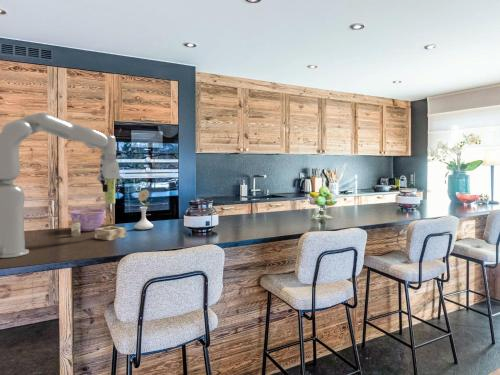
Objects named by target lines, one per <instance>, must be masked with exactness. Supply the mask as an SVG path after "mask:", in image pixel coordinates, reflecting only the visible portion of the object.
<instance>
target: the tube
mask: <svg viewBox="0 0 500 375" xmlns="http://www.w3.org/2000/svg"><path fill="white" fill-rule="evenodd" d="M104 179H105V178H104ZM104 181H105V180H104ZM106 185H107V187H108V192H104V197H105V198H104V199H105V200H104V201H105V205H114V204H116V191H115V179H107V183H106Z"/></svg>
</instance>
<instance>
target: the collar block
mask: <svg viewBox="0 0 500 375" xmlns="http://www.w3.org/2000/svg"><path fill="white" fill-rule="evenodd" d="M94 238H95V239H98V240H105V241H113V240H118V239H122V238H127V228H126V227H122V226H116V225H109V226H104V227H99V228H96V229H95V230H94Z"/></svg>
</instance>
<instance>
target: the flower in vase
mask: <svg viewBox="0 0 500 375" xmlns="http://www.w3.org/2000/svg"><path fill="white" fill-rule="evenodd" d="M149 196H150V191H149V190H147V189H142V190H140V192H138V196H137V200H138V201H140V202H139V203H141V204H142V205H144V206H140V207H139V209H140V211H141V218H140V220H139V221H138V222H137V223H136V224H135V225H134V226H133V227H134V228H135V229H136V230H150V229H152V228H154V224H153V223H152V222H150V221H149V220H148V219H147V216H146V215H147V214H146V213H147V209H148V206H150V205H151V204H150V202H149V201H147V199H148V198H149ZM143 201H145V203H144V202H143Z"/></svg>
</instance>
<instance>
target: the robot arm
mask: <svg viewBox="0 0 500 375" xmlns="http://www.w3.org/2000/svg"><path fill="white" fill-rule="evenodd" d="M39 132H44V133H47V134H51V135H54V136H56V137H58V138H61V139H64V140H69V141H76V142H77V141H78V142H83V143H84V145H85V146H86V147H87V148H88V149H92V150H93V149H100V154H101V155H100V156H99V159H100V162H99V167H98V168H99V170H98V172H99V174H98V176H97V177H96V180H98V181H99V183H101V185H102V192H103V193H105V192H108V187H107V185H106V183H107V179H115V192H117V190H118V189H117V184H118V183H119V181H120V180H121V179H122V177H121V174H120V166H119V162H118V160H117V147H116V145H117V144H116V142H117V141H116V136H115V135H109V134H107V135H105V134H104V133H102V132H99V131H97V130H95V129H93V128H90V127H86V126H82V125H79V124H75V123H73V122H70V121H67V120H64V119H62V118H60V117H57V116H55V115H52V114H50V113H47V112H37V113H32V114H31V115H28V116H25V117H21V118H19V119H16V120H12V121H9V122H6V123H5V124H4V125H3V126H2V131H1V132H0V259H8V258H17V257H22V256H25V255H27V254H29V253H30V250H29V249H27V248H26V244H25V243H26V242H25V223H24V222H25V221H24V220H25V219H24V205H25V192H24V190H23V189H22V188H21V187H20V186H18V185H16V184H15V183H14V180H16V179H18V177H20V174H21V167H20V147H21V144H22V142H23V141H25V140H26V139H28V138H29V137H31V136H32V135H33V134H37V133H39ZM104 178H105V179H104ZM104 180H105V181H104Z"/></svg>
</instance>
